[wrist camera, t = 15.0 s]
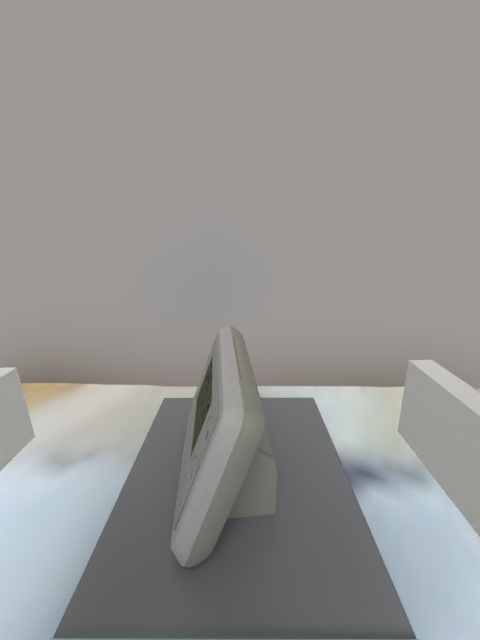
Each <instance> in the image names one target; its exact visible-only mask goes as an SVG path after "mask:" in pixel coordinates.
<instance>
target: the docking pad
mask: <svg viewBox="0 0 480 640" xmlns="http://www.w3.org/2000/svg"><path fill="white" fill-rule="evenodd" d="M193 399H194V398H164V400H163V402H162V404H161V406H160V409H159V411H158V413H157V415H156V417H155V419H154V422H153V424H152V426H151V428H150V430H149V432H148V435H147V437H146V439H145V441H144V443H143V445H142V447H141V450H140V452H139V454H138V456H137V458H136V460H135V463H134V465H133V467H132V469H131V471H130V473H129V476H128V478H127V480H126V482H125V484H124V486H123V488H122V491H121V493H120V495H119V497H118V499H117V501H116V504H115V506H114V508H113V510H112V512H111V514H110V517H109V519H108V521H107V523H106V525H105V527H104V529H103V532H102V534H101V536H100V538H99V540H98V542H97V545H96V547H95V549H94V551H93V553H92V555H91V558H90V560H89V562H88V564H87V566H86V568H85V570H84V573H83V575H82V577H81V579H80V581H79V583H78V586H77V588H76V590H75V592H74V594H73V596H72V599H71V601H70V603H69V605H68V607H67V609H66V611H65V614H64V616H63V618H62V620H61V622H60V624H59V627H58V629H57V631H56V633H55V635H54V637H53V638H50V640H417V639H416V636H415V634H414V632H413V629H412V627H411V625H410V622H409V620H408V618H407V615H406V613H405V611H404V608H403V606H402V604H401V601H400V599H399V597H398V594H397V592H396V590H395V587H394V585H393V583H392V580H391V578H390V576H389V573H388V571H387V569H386V566H385V564H384V562H383V559H382V557H381V555H380V552H379V550H378V548H377V545H376V543H375V541H374V538H373V536H372V534H371V531H370V529H369V527H368V524H367V522H366V520H365V517H364V515H363V513H362V510H361V508H360V506H359V503H358V501H357V499H356V496H355V494H354V492H353V489H352V487H351V485H350V482H349V480H348V478H347V475H346V473H345V471H344V468H343V466H342V464H341V461H340V459H339V457H338V454H337V452H336V450H335V447H334V445H333V443H332V440H331V438H330V436H329V433H328V431H327V429H326V426H325V424H324V422H323V419H322V417H321V415H320V412H319V410H318V408H317V405H316V403H315V401H314V398H260V400H261V405H262V409H263V413H264V417H265V425H266V429H267V433H268V437H269V440H270V444H271V448H272V452H273V456H274V459H275V463H276V468H277V492H276V512H275V513H274V514H272V515H266V516H255V517H242V518H230V519H227V520H226V522H225V524H224V527H223V529H222V531H221V533H220V536H219V538H218V540H217V543H216V545H215V547H214V549H213V551H212V553H211V554H210V555H209V557H207V558H206V559H205V560H204V561H203V562H202V563H200V564H199V565H197V566H194V567H191V568H186V567H182V566H181V565H180V563H179V562H178V560H177V559H176V557H175V555H174V554H173V552H172V550H171V537H172V530H173V522H174V515H175V508H176V501H177V494H178V486H179V479H180V472H181V465H182V458H183V451H184V444H185V437H186V430H187V423H188V416H189V412H190V408H191V405H192V402H193Z"/></svg>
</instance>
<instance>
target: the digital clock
mask: <svg viewBox="0 0 480 640" xmlns="http://www.w3.org/2000/svg"><path fill="white" fill-rule="evenodd" d="M276 492H277V468H276V463H275V459H274V456H273V452H272V448H271V444H270V440H269V437H268V433H267V429H266V425H265V417H264V413H263V409H262V405H261V400H260V396H259V393H258V389H257V385H256V382H255V378H254V374H253V371H252V367H251V364H250V360H249V356H248V352H247V349H246V345H245V342H244V339H243V336H242V335H241V333H240V332H239V331H238V330H237V329H235V328H234V327H231V326H227V327H224V328H221V329H219V330H218V333H217V335H216V338H215V341H214V343H213V346H212V349H211V352H210V354H209V357H208V360H207V363H206V366H205V369H204V371H203V374H202V377H201V380H200V383H199V385H198V388H197V391H196V394H195V397H194V399H193V402H192V405H191V408H190V412H189V416H188V423H187V430H186V437H185V444H184V451H183V458H182V465H181V472H180V479H179V486H178V494H177V501H176V508H175V515H174V522H173V530H172V537H171V550H172V552H173V554H174V555H175V557H176V559H177V560H178V562H179V563H180V565H181V566H182V567H186V568H191V567H194V566H197V565H199V564H200V563H202V562H203V561H204V560H205V559H206V558H207V557H209V555H210V554H211V553H212V551H213V549H214V547H215V545H216V543H217V540H218V538H219V536H220V533H221V531H222V529H223V527H224V524H225V522H226V520H227V519H230V518H242V517H255V516H266V515H272V514H274V513H275V512H276Z"/></svg>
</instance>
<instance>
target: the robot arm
mask: <svg viewBox="0 0 480 640" xmlns="http://www.w3.org/2000/svg"><path fill="white" fill-rule="evenodd" d="M398 432H399V433H400V434H401V435H402V437H403V438H404V439H405V441H406V442H407V443H408V444H409V446H410V447H411V448H412V450H413V451H414V452H415V454H416V455H417V456H418V457H419V459H420V460H421V461H422V463H423V464H424V465H425V466H426V468H427V469H428V470H429V472H430V473H431V474H432V475H433V477H434V478H435V479H436V481H437V482H438V483H439V485H440V486H441V487H442V488H443V490H444V491H445V492H446V494H447V495H448V496H449V497H450V499H451V500H452V501H453V503H454V504H455V505H456V507H457V508H458V509H459V510H460V512H461V513H462V514H463V516H464V517H465V518H466V519H467V521H468V522H469V523H470V525H471V526H472V527H473V528H474V530H475V531H476V532H477V534H478V535H479V536H480V392H478V391H477V390H475V389H474V388H472V387H471V386H469V385H468V384H467V383H465V382H464V381H462V380H461V379H459V378H458V377H456V376H455V375H453V374H452V373H450V372H449V371H448V370H446V369H445V368H443V367H442V366H440V365H439V364H437V363H436V362H435V361H433V360H409V363H408V369H407V375H406V382H405V388H404V395H403V401H402V408H401V414H400V421H399V427H398ZM34 437H35V435H34V431H33V428H32V424H31V420H30V416H29V412H28V409H27V405H26V401H25V397H24V393H23V390H22V386H21V382H20V378H19V375H18V371H17V368H0V471H1V470H2V469H3V468H4V467H5V466H6V465H7V464H8V463H9V462H10V461H11V460H12V459H13V458H14V457H15V456H16V455H17V454H18V453H19V452H20V451H21V450H22V449H23V448H24V447H25V446H26V445H27V444H28V443H29V442H30V441H31V440H32V439H33V438H34Z"/></svg>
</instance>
